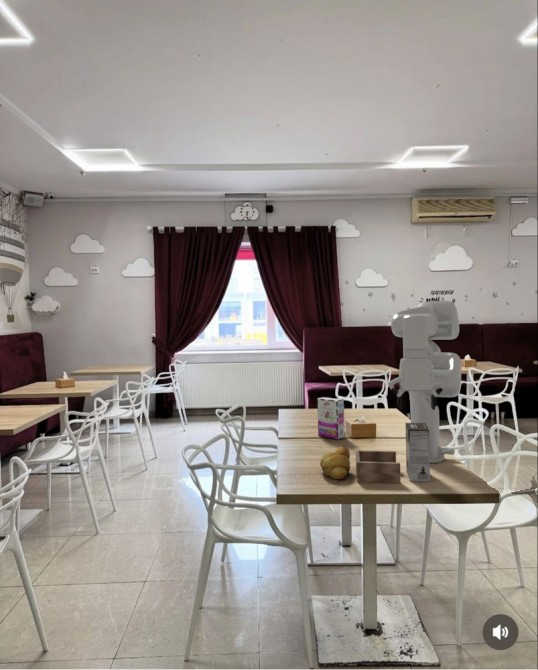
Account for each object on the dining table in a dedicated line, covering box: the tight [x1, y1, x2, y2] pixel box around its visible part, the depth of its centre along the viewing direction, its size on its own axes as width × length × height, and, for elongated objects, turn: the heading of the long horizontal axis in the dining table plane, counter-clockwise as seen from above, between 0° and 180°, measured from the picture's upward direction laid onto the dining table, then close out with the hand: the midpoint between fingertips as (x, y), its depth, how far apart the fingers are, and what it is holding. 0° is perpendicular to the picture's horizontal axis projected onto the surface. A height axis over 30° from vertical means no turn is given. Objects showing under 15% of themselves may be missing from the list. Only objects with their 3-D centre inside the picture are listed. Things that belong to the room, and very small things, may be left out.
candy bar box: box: [317, 396, 346, 440], centre depth 190 cm, size 11×5×16 cm, turn 42°
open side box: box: [355, 449, 401, 484], centre depth 141 cm, size 13×13×6 cm
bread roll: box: [319, 446, 351, 480], centre depth 143 cm, size 13×10×8 cm
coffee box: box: [404, 422, 431, 482], centre depth 139 cm, size 9×6×16 cm
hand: (416, 408), depth 139 cm, fingers open, 9 cm apart
